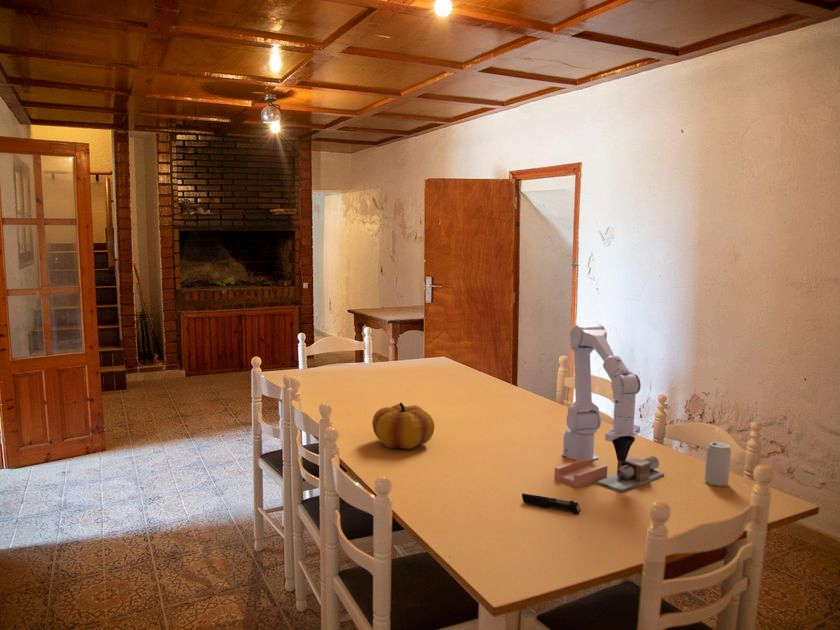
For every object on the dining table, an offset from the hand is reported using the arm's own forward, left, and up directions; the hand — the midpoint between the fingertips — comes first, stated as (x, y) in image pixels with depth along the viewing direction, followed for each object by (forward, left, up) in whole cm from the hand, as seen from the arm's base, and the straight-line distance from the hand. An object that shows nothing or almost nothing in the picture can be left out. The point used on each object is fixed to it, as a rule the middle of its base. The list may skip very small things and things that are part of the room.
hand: (621, 460), depth 189 cm
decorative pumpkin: (-67, -30, -7) cm, 74 cm away
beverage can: (+17, +23, -7) cm, 30 cm away
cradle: (-10, -6, -7) cm, 13 cm away
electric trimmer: (-1, -30, -8) cm, 31 cm away
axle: (0, +9, -4) cm, 10 cm away
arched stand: (0, +6, -7) cm, 10 cm away
